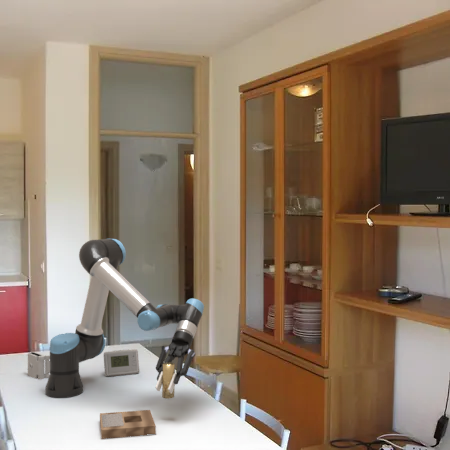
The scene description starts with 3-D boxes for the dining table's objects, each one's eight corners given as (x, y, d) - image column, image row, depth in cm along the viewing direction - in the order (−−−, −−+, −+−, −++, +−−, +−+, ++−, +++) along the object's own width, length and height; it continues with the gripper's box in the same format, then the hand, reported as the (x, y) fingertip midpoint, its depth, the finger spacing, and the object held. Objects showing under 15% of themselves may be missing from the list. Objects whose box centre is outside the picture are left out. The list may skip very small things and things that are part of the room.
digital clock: (103, 377, 267) (103, 354, 267) (103, 372, 276) (103, 349, 276) (139, 375, 270) (140, 352, 270) (138, 370, 279) (138, 347, 279)
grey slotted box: (54, 378, 266) (54, 355, 265) (45, 381, 261) (45, 358, 260) (32, 373, 273) (32, 351, 272) (23, 376, 268) (23, 354, 268)
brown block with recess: (101, 438, 197) (101, 429, 197) (99, 421, 213) (99, 412, 213) (155, 434, 202) (155, 425, 202) (150, 417, 217) (150, 409, 217)
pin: (163, 398, 214) (163, 365, 213) (161, 394, 218) (162, 362, 217) (175, 398, 215) (175, 365, 214) (173, 394, 219) (173, 362, 218)
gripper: (207, 343, 227) (188, 398, 212) (166, 338, 233) (145, 392, 218) (202, 332, 222) (182, 388, 207) (160, 327, 228) (138, 381, 213)
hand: (163, 390), depth 213 cm, fingers closed on pin, 4 cm apart
